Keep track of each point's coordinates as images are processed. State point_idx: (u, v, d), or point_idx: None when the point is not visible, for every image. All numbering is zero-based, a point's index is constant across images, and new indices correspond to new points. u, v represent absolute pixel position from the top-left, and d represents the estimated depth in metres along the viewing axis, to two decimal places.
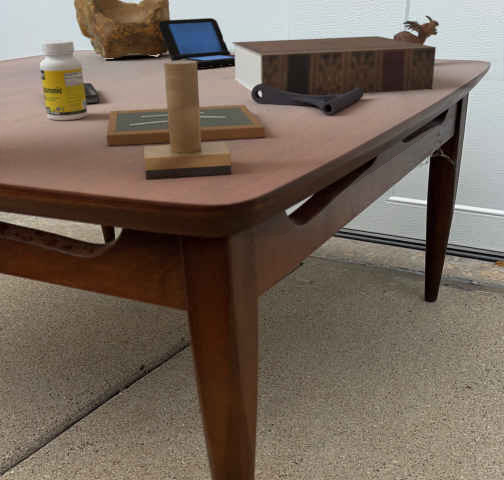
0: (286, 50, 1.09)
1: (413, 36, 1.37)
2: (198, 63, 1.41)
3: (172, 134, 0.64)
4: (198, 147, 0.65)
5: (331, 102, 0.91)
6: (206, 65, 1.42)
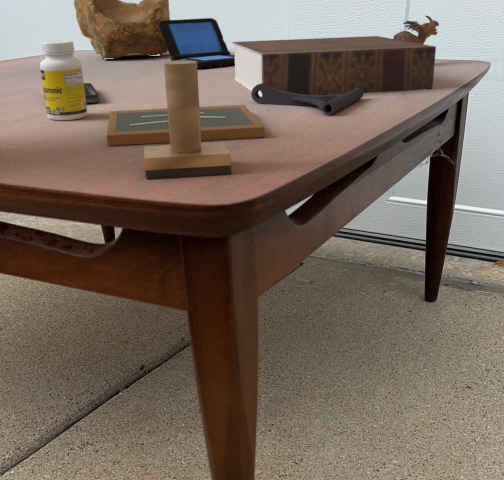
0: (286, 49, 1.09)
1: (413, 36, 1.37)
2: (198, 63, 1.41)
3: (172, 134, 0.64)
4: (198, 147, 0.65)
5: (331, 102, 0.91)
6: (206, 65, 1.42)
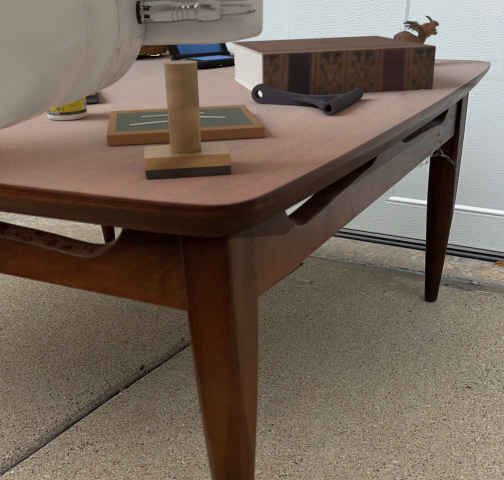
0: (287, 49, 1.09)
1: (413, 36, 1.37)
2: (198, 63, 1.41)
3: (172, 134, 0.64)
4: (198, 147, 0.65)
5: (331, 102, 0.91)
6: (206, 65, 1.42)
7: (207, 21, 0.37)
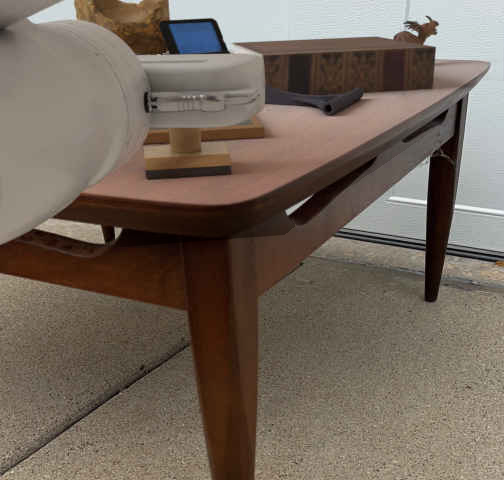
0: (287, 50, 1.09)
1: (413, 36, 1.37)
2: None
3: (172, 134, 0.64)
4: (198, 147, 0.65)
5: (331, 102, 0.91)
6: None
7: (212, 111, 0.38)
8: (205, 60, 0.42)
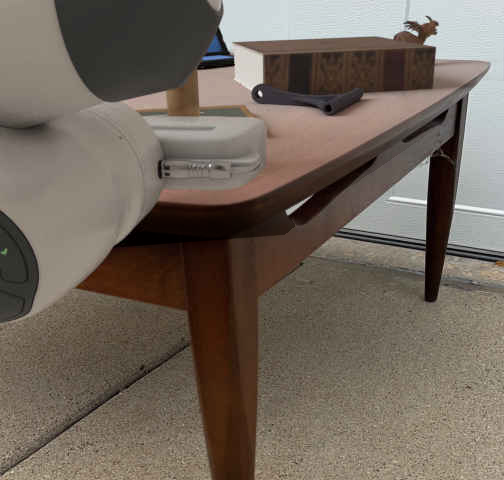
0: (287, 50, 1.09)
1: (413, 36, 1.37)
2: None
3: None
4: None
5: (331, 102, 0.91)
6: (206, 65, 1.42)
7: (219, 179, 0.43)
8: (213, 126, 0.46)
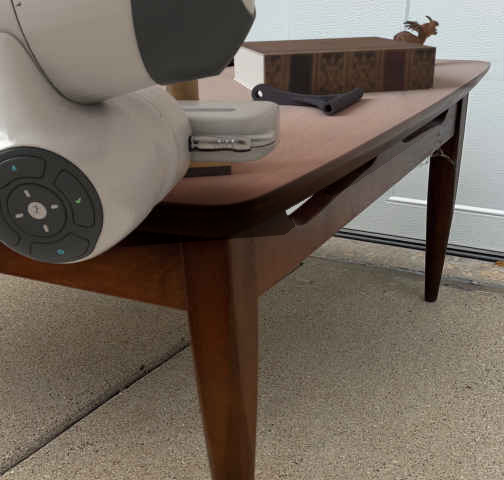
0: (288, 50, 1.09)
1: (413, 36, 1.37)
2: None
3: None
4: None
5: (331, 102, 0.91)
6: None
7: (240, 152, 0.50)
8: (233, 108, 0.54)
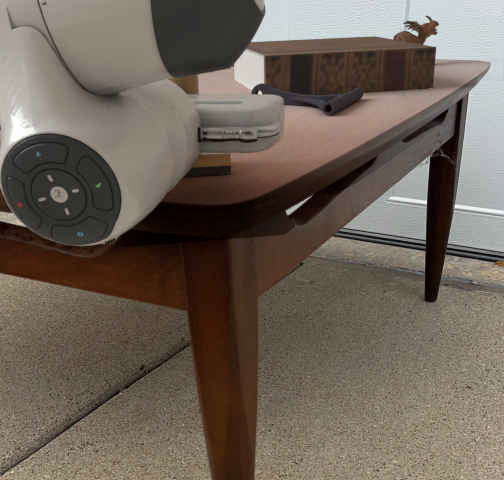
0: (288, 50, 1.09)
1: (413, 36, 1.37)
2: None
3: None
4: None
5: (331, 102, 0.91)
6: None
7: (247, 142, 0.52)
8: (240, 101, 0.56)
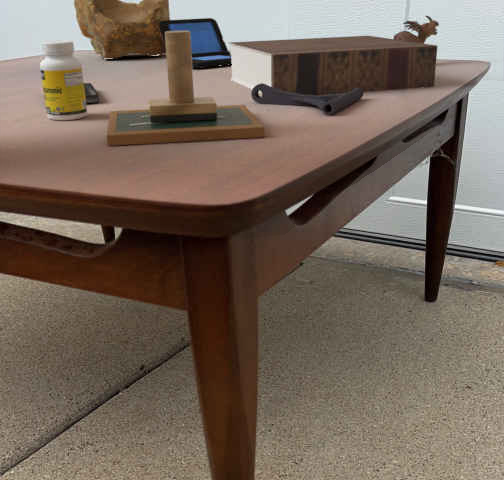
0: (292, 49, 1.09)
1: (413, 36, 1.37)
2: (198, 63, 1.41)
3: (171, 88, 0.83)
4: (191, 99, 0.84)
5: (331, 102, 0.91)
6: (206, 65, 1.42)
7: None
8: None
